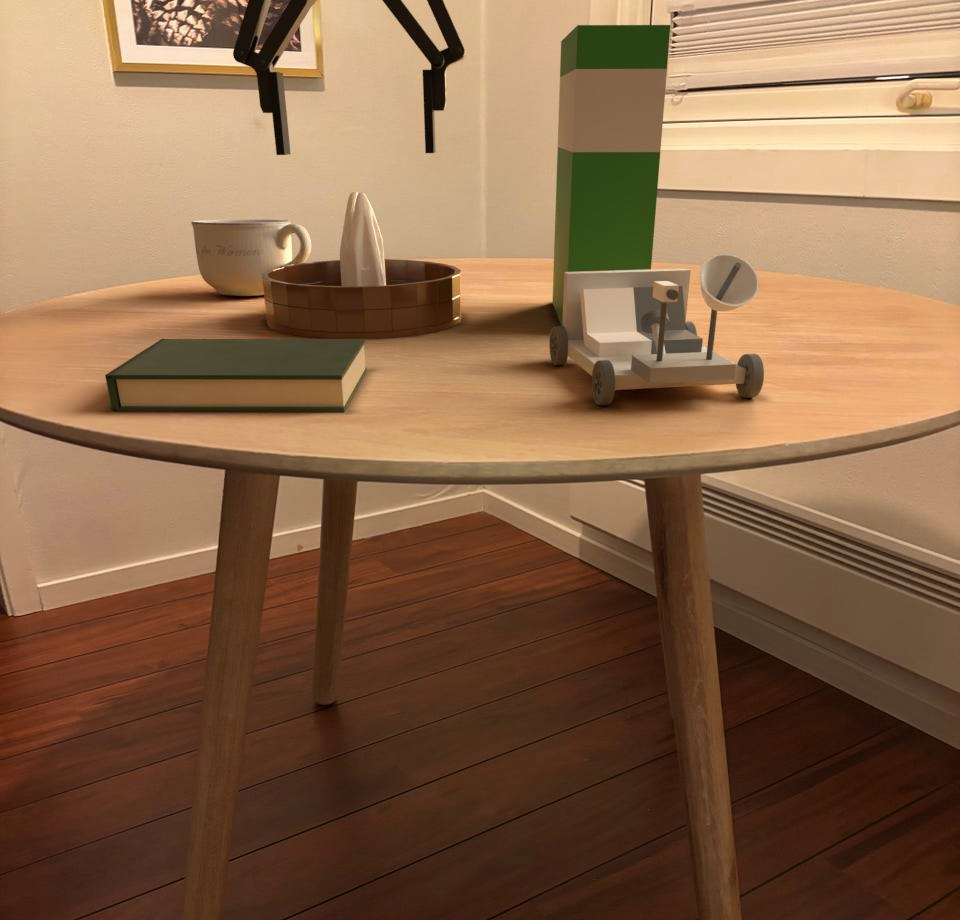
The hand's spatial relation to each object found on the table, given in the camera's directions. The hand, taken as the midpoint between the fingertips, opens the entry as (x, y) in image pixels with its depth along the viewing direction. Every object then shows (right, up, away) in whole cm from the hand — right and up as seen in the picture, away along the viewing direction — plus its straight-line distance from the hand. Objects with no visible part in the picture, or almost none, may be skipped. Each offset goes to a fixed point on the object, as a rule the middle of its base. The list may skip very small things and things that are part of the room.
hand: (357, 154), depth 87 cm
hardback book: (+23, -13, +8) cm, 27 cm away
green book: (-6, -26, -17) cm, 32 cm away
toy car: (+24, -26, -16) cm, 39 cm away
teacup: (-14, -6, +21) cm, 25 cm away
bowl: (0, -13, +7) cm, 15 cm away
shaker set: (0, -13, +7) cm, 14 cm away
